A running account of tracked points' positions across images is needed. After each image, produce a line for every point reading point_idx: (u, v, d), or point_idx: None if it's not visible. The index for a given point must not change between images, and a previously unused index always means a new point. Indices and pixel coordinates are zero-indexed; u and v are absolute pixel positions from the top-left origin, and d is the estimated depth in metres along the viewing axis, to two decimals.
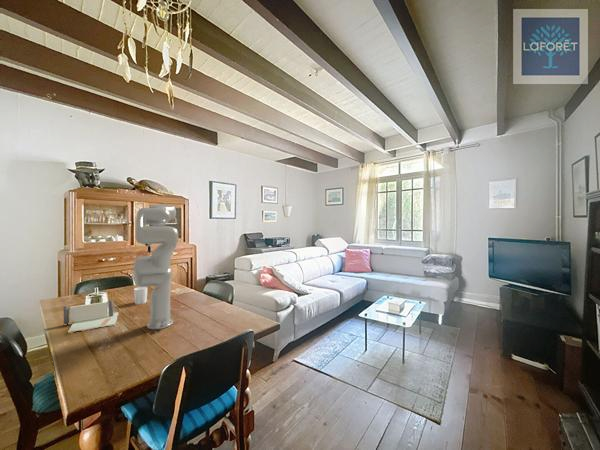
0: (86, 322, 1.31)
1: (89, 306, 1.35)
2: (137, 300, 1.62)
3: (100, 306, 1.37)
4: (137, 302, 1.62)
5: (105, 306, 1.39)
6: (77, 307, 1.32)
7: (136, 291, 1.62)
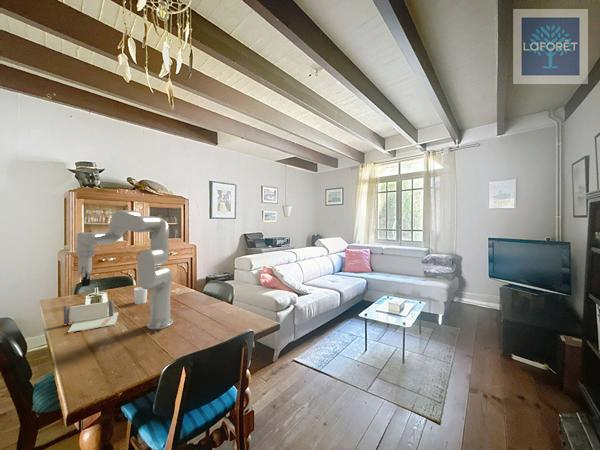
0: (86, 322, 1.31)
1: (89, 306, 1.35)
2: (137, 300, 1.62)
3: (100, 306, 1.37)
4: (137, 302, 1.62)
5: (105, 306, 1.39)
6: (77, 307, 1.32)
7: (136, 291, 1.62)
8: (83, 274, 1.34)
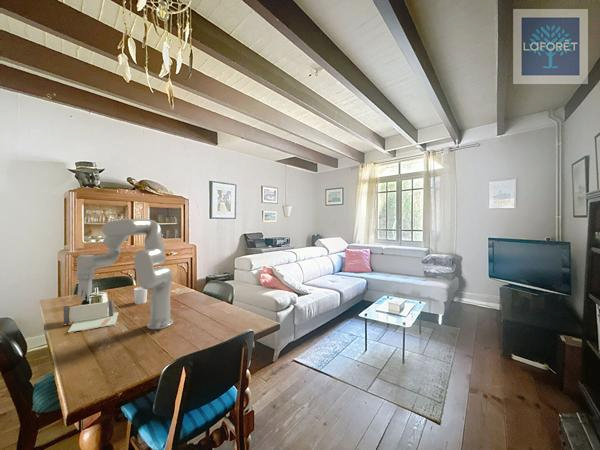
0: (86, 322, 1.31)
1: (89, 306, 1.35)
2: (137, 300, 1.62)
3: (100, 306, 1.37)
4: (137, 302, 1.62)
5: (105, 306, 1.39)
6: (77, 307, 1.32)
7: (136, 291, 1.62)
8: (83, 298, 1.34)
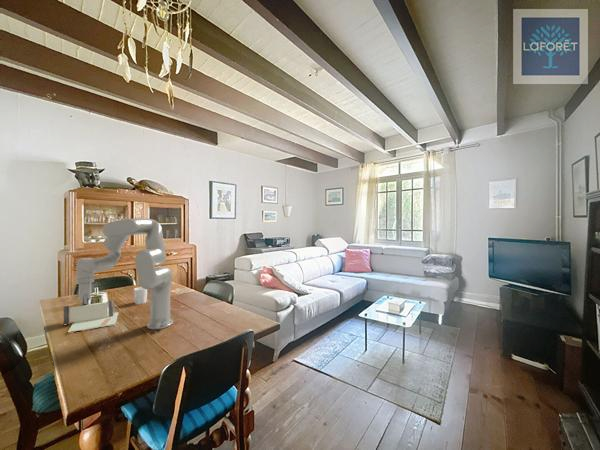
0: (86, 322, 1.31)
1: (89, 306, 1.34)
2: (137, 300, 1.62)
3: (100, 306, 1.37)
4: (137, 302, 1.62)
5: (105, 306, 1.38)
6: (77, 307, 1.32)
7: (136, 291, 1.62)
8: (85, 301, 1.32)
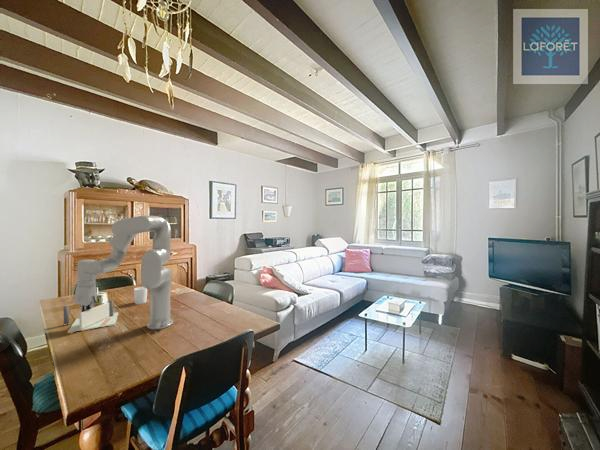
0: None
1: (96, 309, 1.31)
2: (137, 300, 1.62)
3: (104, 307, 1.35)
4: (137, 302, 1.62)
5: (108, 307, 1.38)
6: (87, 312, 1.26)
7: (136, 291, 1.62)
8: (93, 304, 1.28)
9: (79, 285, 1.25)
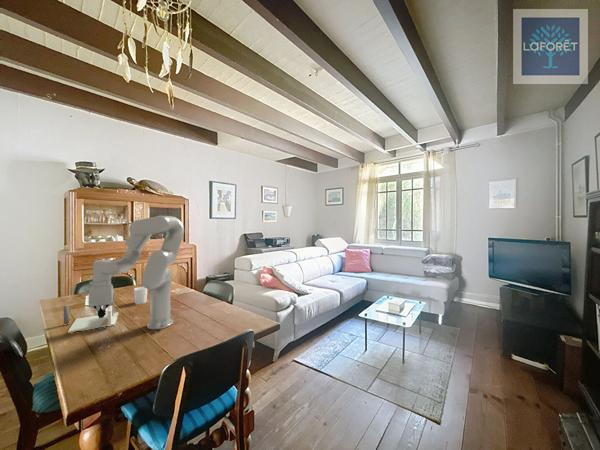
0: (86, 322, 1.31)
1: (111, 308, 1.33)
2: (137, 300, 1.62)
3: None
4: (137, 302, 1.62)
5: None
6: (111, 310, 1.29)
7: (136, 291, 1.62)
8: (113, 302, 1.31)
9: (101, 285, 1.26)
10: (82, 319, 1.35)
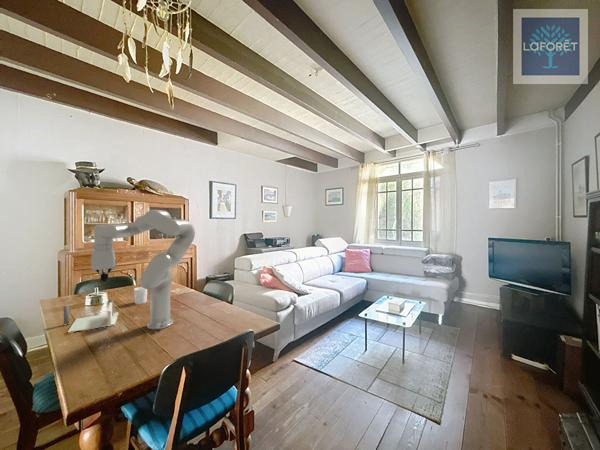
0: (86, 322, 1.31)
1: (111, 308, 1.33)
2: (137, 300, 1.62)
3: None
4: (137, 302, 1.62)
5: None
6: (111, 310, 1.29)
7: (136, 291, 1.62)
8: (115, 266, 1.34)
9: (102, 249, 1.29)
10: (82, 319, 1.35)
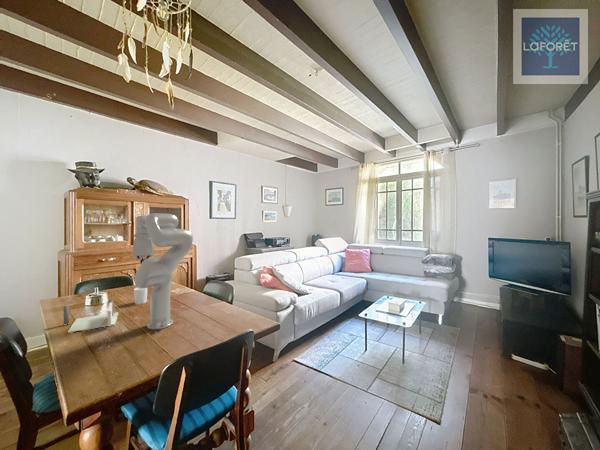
0: (86, 322, 1.31)
1: (111, 308, 1.33)
2: (137, 300, 1.62)
3: None
4: (137, 302, 1.62)
5: None
6: (111, 310, 1.29)
7: (136, 291, 1.62)
8: (153, 254, 1.48)
9: (143, 237, 1.42)
10: (82, 319, 1.35)
